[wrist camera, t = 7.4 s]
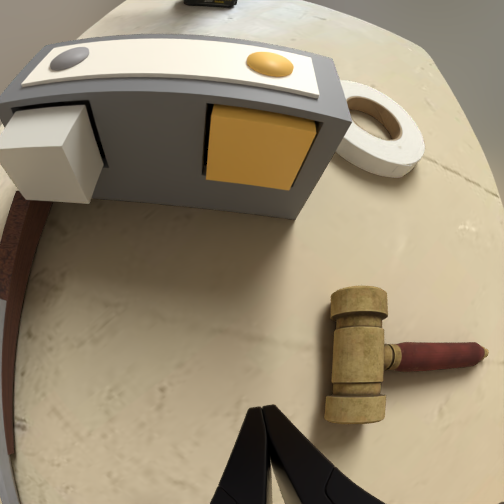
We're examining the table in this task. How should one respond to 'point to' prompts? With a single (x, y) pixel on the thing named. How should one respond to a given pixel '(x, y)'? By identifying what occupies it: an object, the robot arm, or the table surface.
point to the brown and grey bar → (14, 315)
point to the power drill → (212, 3)
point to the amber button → (257, 146)
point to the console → (184, 111)
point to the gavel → (377, 356)
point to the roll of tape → (374, 148)
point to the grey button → (51, 154)
